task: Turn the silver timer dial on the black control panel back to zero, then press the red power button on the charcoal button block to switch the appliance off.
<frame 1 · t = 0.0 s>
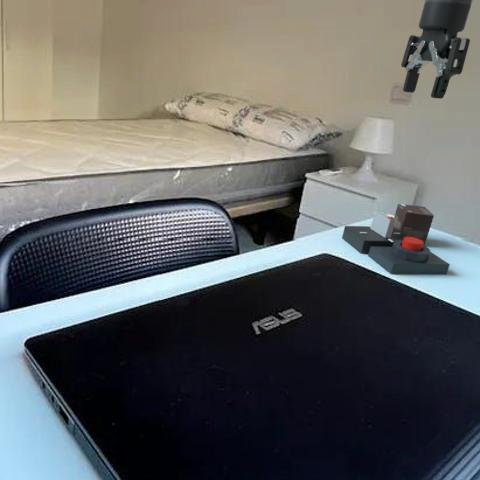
hand: (421, 94, 96), 31 cm above the table, tool pointing down, fingers open, 8 cm apart
box: (406, 240, 112), on the table
button block: (406, 265, 99), on the table
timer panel: (376, 246, 107), on the table
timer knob: (382, 223, 105), point 5 cm above the table, hinge at 95.0°
power button: (412, 244, 97), point 4 cm above the table, slide at 0.1 cm
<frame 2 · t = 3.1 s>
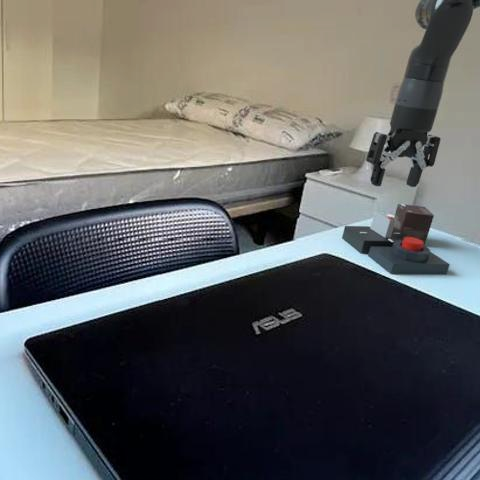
hand: (393, 185, 101), 14 cm above the table, tool pointing down, fingers open, 8 cm apart
nothing on the table moved.
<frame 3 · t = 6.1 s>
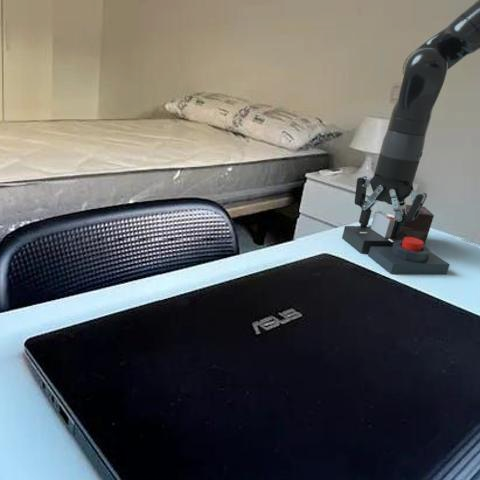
hand: (378, 231, 106), 3 cm above the table, tool pointing down, fingers open, 6 cm apart
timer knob: (382, 223, 105), point 5 cm above the table, hinge at 93.8°, touching gripper
everything else where it was.
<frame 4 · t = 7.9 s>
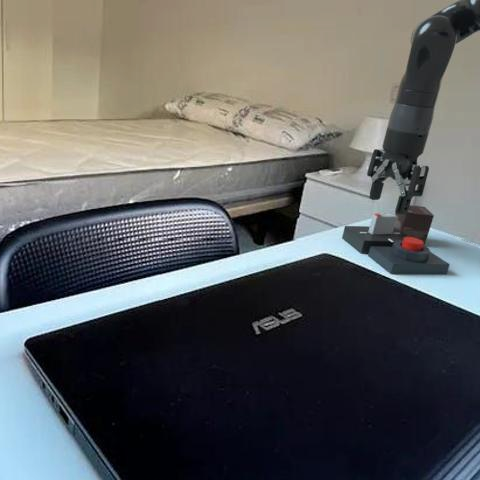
hand: (386, 206, 104), 9 cm above the table, tool pointing down, fingers open, 8 cm apart
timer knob: (382, 223, 105), point 5 cm above the table, hinge at 5.1°
everything else where it was.
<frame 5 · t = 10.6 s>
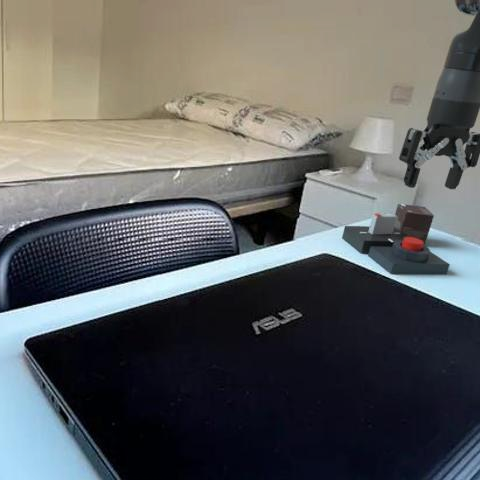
hand: (429, 187, 93), 16 cm above the table, tool pointing down, fingers open, 8 cm apart
nothing on the table moved.
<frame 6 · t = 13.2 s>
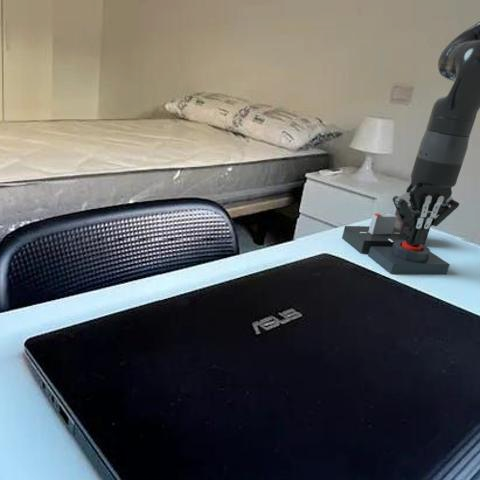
hand: (412, 244, 97), 4 cm above the table, tool pointing down, fingers closed
power button: (411, 248, 97), point 4 cm above the table, slide at -0.8 cm, touching gripper
everything else where it was.
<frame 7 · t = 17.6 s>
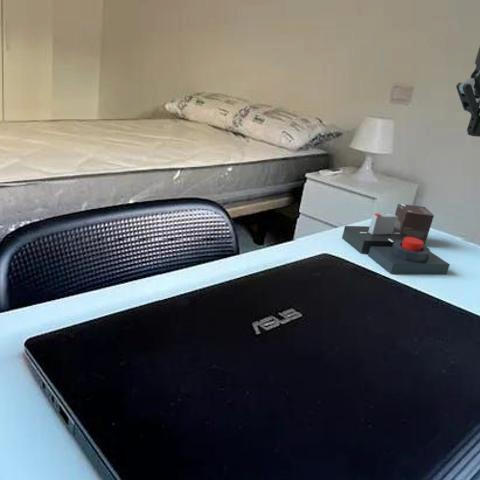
hand: (474, 135, 96), 25 cm above the table, tool pointing down, fingers closed
power button: (412, 244, 97), point 4 cm above the table, slide at 0.1 cm
everything else where it was.
at the end: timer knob at +5° (first picture: +95°); power button pushed in 1.1 cm at the most during the clip, back to where it started at the end; power button slide at 0.1 cm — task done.
